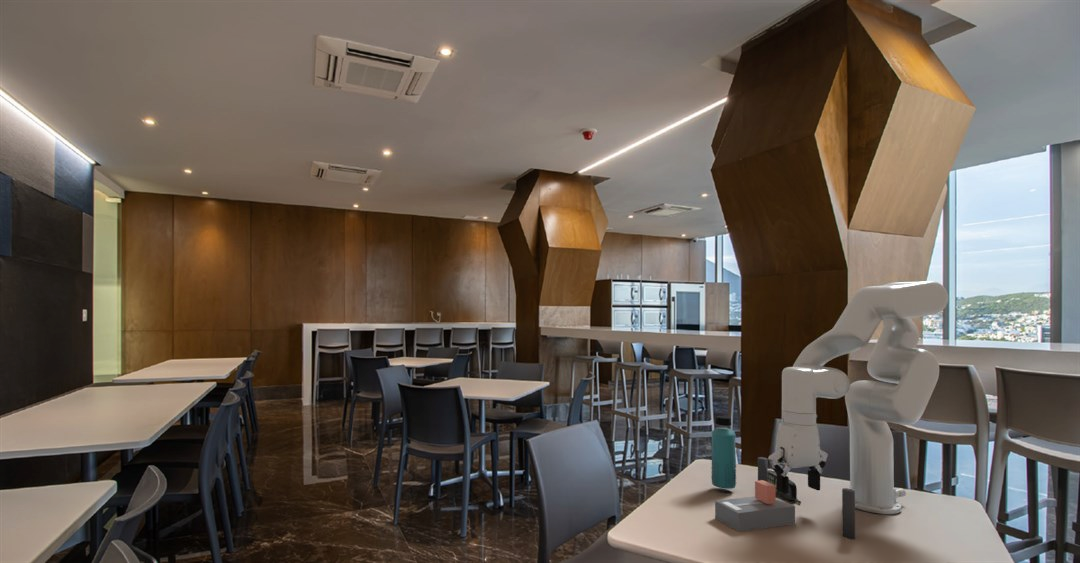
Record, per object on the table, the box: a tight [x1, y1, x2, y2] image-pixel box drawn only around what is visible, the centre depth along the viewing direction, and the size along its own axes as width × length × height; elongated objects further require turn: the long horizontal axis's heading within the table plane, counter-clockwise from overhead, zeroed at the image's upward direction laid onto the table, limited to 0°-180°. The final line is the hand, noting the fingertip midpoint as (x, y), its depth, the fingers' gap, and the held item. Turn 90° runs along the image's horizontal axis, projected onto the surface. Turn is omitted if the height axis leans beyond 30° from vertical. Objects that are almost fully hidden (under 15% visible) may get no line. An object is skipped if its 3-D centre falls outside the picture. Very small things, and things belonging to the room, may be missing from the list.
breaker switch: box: [754, 480, 777, 504], centre depth 126 cm, size 2×4×4 cm, turn 20°
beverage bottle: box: [710, 415, 737, 490], centre depth 146 cm, size 6×7×20 cm
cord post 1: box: [757, 456, 769, 482], centre depth 142 cm, size 2×2×10 cm
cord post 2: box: [841, 487, 856, 540], centre depth 117 cm, size 2×2×10 cm
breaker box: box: [714, 495, 796, 532], centre depth 125 cm, size 16×8×4 cm, turn 109°
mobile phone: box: [768, 469, 802, 505], centre depth 144 cm, size 5×3×15 cm
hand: (798, 490), depth 129 cm, fingers open, 9 cm apart
